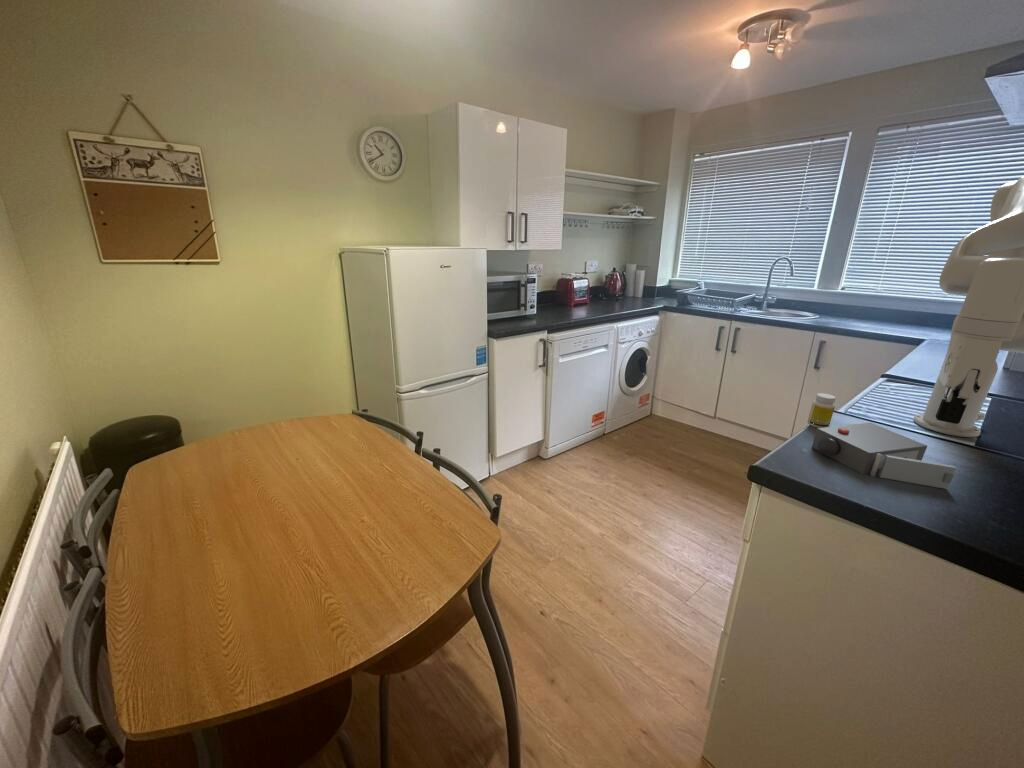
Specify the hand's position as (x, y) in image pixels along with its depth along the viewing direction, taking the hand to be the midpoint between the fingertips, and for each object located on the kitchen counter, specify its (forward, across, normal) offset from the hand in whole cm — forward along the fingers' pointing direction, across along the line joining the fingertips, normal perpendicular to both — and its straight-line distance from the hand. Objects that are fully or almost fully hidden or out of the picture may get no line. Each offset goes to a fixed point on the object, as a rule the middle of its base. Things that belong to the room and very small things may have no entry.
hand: (946, 420), depth 81 cm
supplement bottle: (+13, -18, -19) cm, 30 cm away
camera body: (+13, -3, -10) cm, 17 cm away
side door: (+13, +3, -2) cm, 14 cm away
